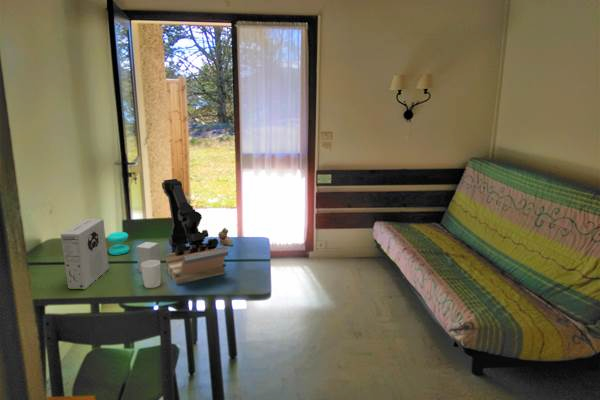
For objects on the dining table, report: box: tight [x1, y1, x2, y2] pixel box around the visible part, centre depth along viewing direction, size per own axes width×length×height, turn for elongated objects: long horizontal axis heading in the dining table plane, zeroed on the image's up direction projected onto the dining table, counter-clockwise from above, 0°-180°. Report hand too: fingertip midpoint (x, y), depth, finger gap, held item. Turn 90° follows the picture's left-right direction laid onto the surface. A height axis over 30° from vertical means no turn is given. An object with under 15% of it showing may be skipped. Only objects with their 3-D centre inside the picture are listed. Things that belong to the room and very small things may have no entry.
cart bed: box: [165, 249, 227, 285], centre depth 197 cm, size 18×23×8 cm
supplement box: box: [135, 241, 162, 273], centre depth 200 cm, size 7×7×13 cm
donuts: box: [106, 231, 131, 256], centre depth 222 cm, size 10×10×10 cm
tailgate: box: [180, 246, 230, 276], centre depth 186 cm, size 3×19×13 cm
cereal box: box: [60, 218, 110, 289], centre depth 189 cm, size 22×8×25 cm, turn 178°
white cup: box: [141, 260, 162, 289], centre depth 185 cm, size 8×8×10 cm
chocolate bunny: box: [217, 227, 234, 247], centre depth 234 cm, size 6×8×10 cm
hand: (202, 264), depth 189 cm, fingers closed, pressing on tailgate
